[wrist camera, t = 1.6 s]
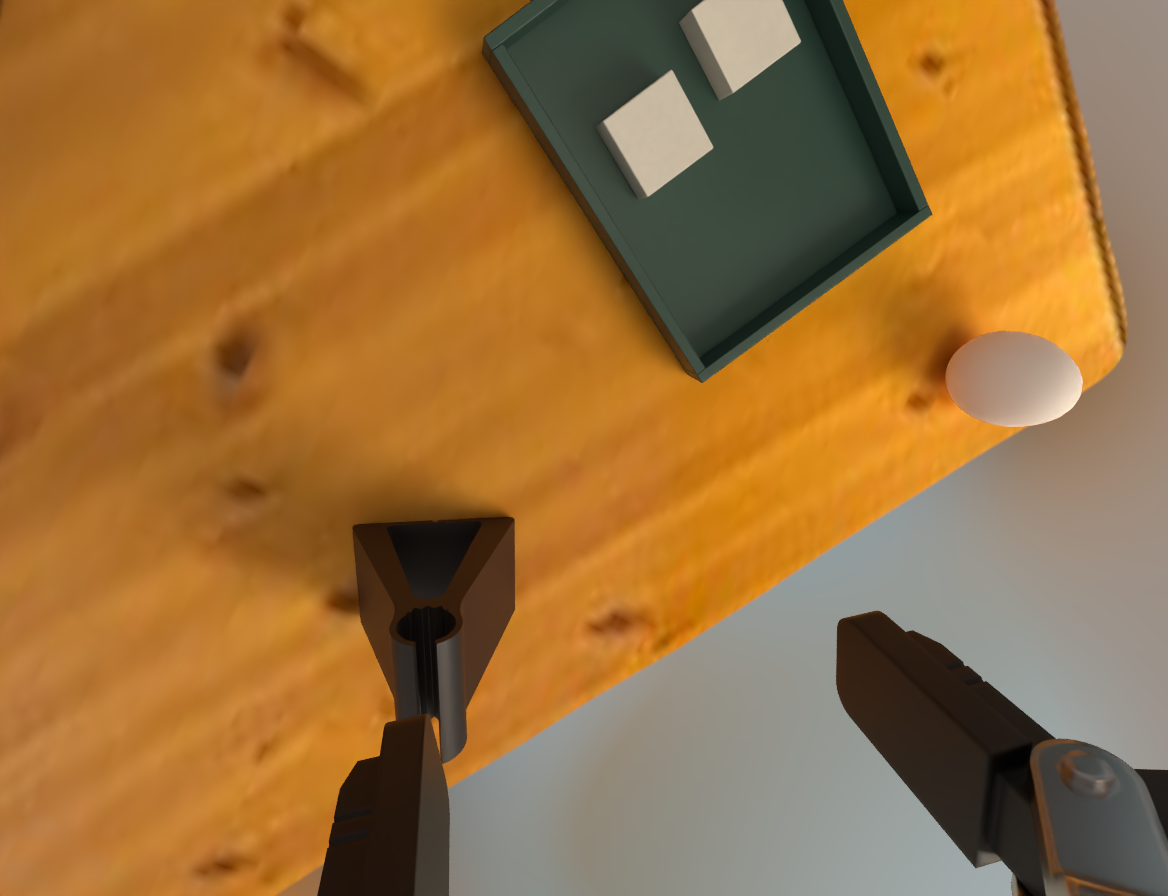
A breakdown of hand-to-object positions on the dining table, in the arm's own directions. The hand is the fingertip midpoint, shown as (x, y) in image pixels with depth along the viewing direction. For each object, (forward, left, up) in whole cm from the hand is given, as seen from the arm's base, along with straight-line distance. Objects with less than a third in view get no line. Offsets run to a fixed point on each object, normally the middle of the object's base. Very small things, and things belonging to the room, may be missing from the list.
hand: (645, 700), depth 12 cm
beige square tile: (-7, +13, -24) cm, 28 cm away
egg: (+15, +23, -25) cm, 37 cm away
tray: (-5, +16, -25) cm, 30 cm away
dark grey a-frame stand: (+5, -10, -25) cm, 27 cm away
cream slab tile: (-8, +19, -24) cm, 32 cm away
